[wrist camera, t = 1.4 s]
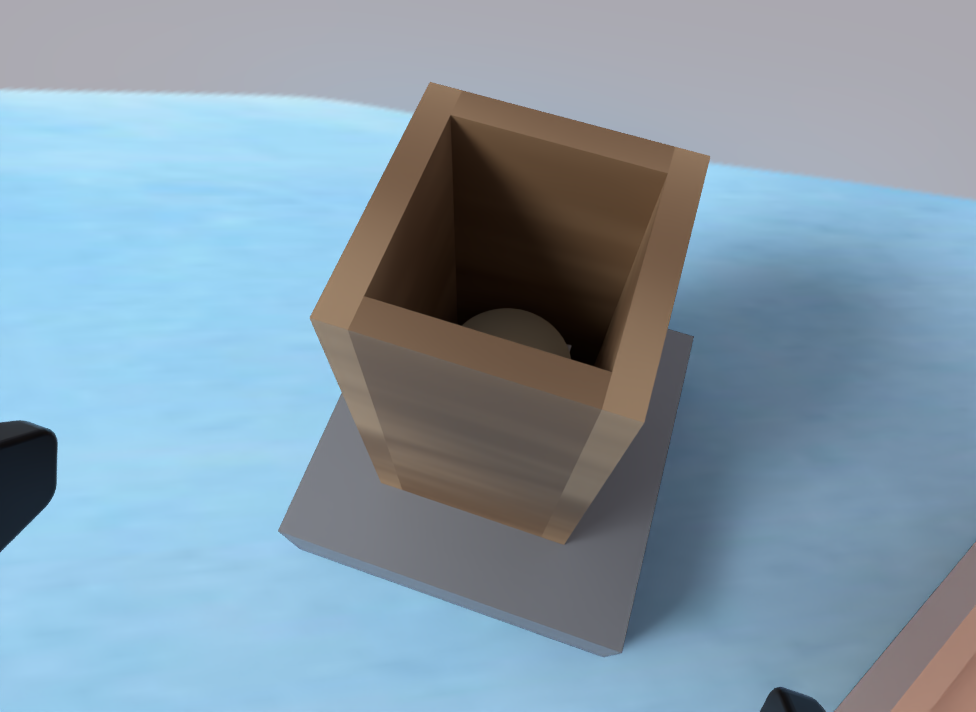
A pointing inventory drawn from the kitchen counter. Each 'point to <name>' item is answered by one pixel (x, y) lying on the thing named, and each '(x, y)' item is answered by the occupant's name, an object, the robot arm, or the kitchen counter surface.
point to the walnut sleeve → (508, 305)
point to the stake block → (488, 544)
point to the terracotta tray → (928, 655)
